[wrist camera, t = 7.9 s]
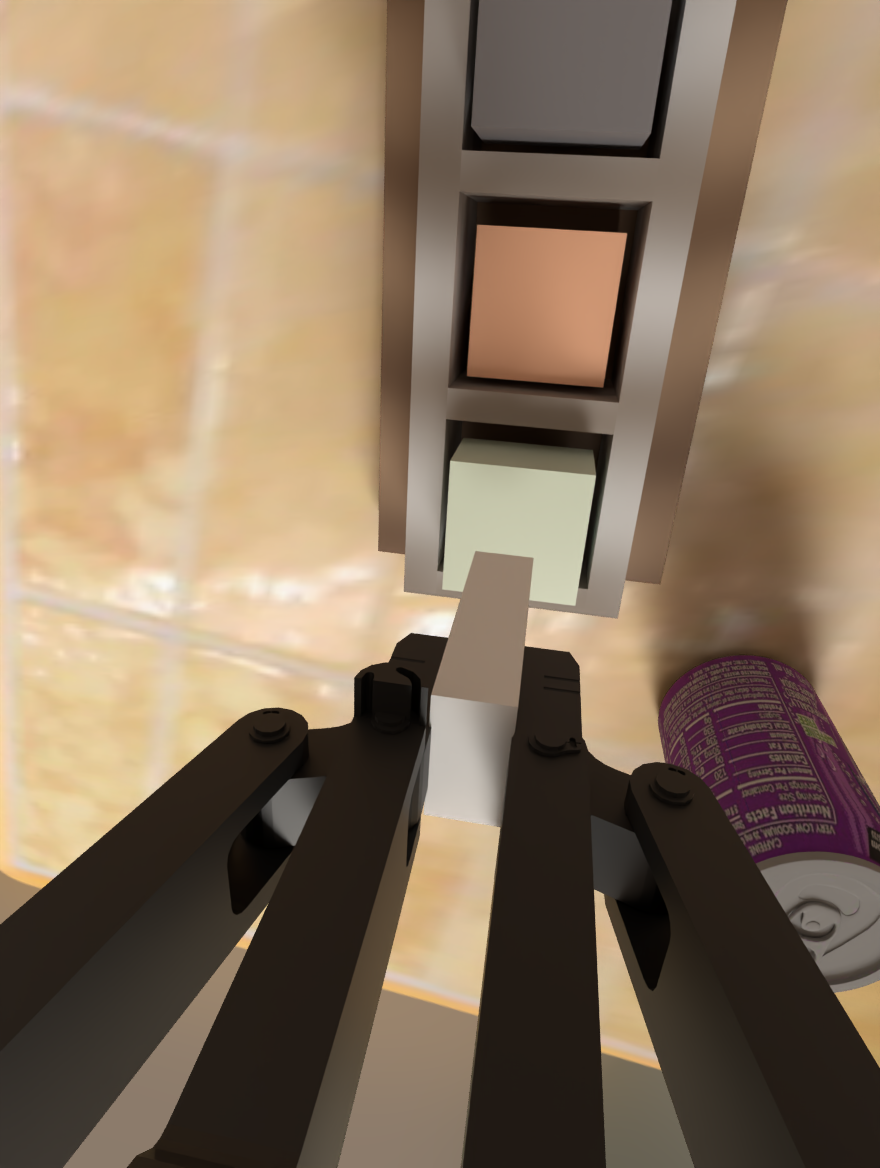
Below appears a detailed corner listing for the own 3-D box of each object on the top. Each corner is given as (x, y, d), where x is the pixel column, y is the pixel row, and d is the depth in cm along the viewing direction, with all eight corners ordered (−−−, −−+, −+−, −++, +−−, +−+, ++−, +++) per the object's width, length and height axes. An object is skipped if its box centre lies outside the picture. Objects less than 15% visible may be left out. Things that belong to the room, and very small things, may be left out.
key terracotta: (487, 228, 23) (477, 224, 21) (620, 235, 23) (627, 233, 20) (477, 363, 25) (466, 376, 23) (599, 373, 25) (603, 387, 22)
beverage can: (764, 788, 34) (853, 1029, 24) (631, 738, 34) (660, 956, 24) (847, 679, 31) (992, 901, 20) (699, 624, 31) (768, 816, 20)
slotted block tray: (410, -385, 19) (344, -654, 14) (860, -409, 18) (999, -724, 12) (388, 534, 32) (349, 596, 26) (654, 564, 30) (675, 638, 24)
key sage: (463, 437, 24) (450, 460, 21) (593, 449, 23) (596, 475, 20) (455, 554, 26) (442, 589, 23) (574, 568, 25) (575, 606, 22)
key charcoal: (498, -55, 18) (485, -109, 15) (671, -55, 17) (689, -111, 15) (484, 143, 20) (471, 126, 17) (639, 150, 19) (650, 133, 17)
